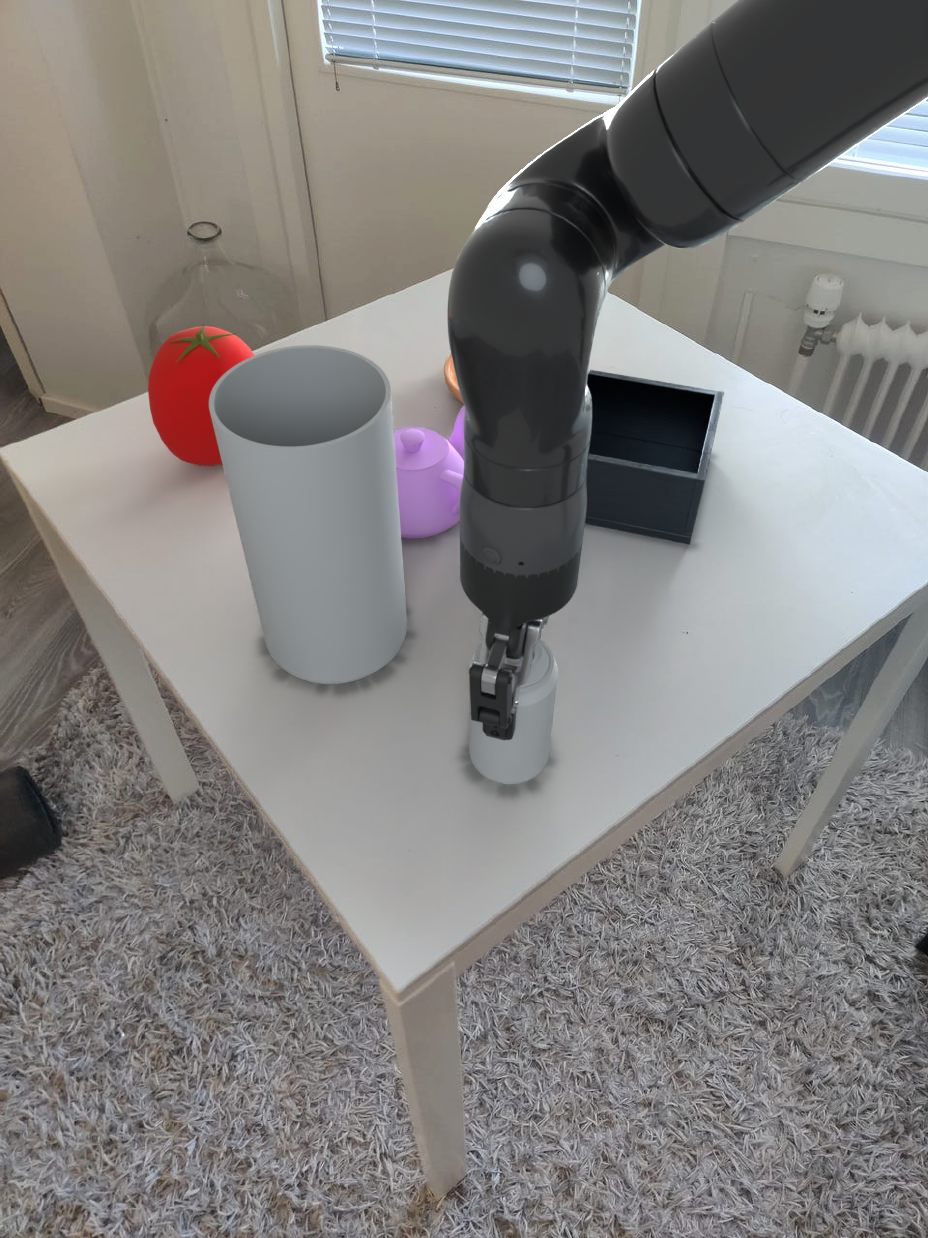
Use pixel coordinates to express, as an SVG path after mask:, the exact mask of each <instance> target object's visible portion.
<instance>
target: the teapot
mask: <svg viewBox="0 0 928 1238" xmlns="http://www.w3.org/2000/svg"><path fill="white" fill-rule="evenodd" d="M464 415H465V406H464V405H463V406H462V407H461V408H460V409H459V412H458V414H457V416H456V420H455V423H454V426H453V427H454V428H453V430H452V433H451V435H450V437H449V438H448V439H446V438H445V437H444V436H443V435H442V434H440V433H439V432H436V431H434V430H432V429H429V428H426V427H425V428H424V427H417V426H416V427H415V426H411V427H403V428H400V429H399V428H398V429H396V430H394V444H395V459H396V473H397V487H398V501H399V515H400V529H401V538H404V539H405V538H406V539H424V538H429V537H434V536H436V535H439V534H441V533H443V532H445V531H447V530H449V529H450V528H452V527H454V526H455V525H456V524H458V523H459V522H460V492H461V485H462V480H463V474H464Z"/></svg>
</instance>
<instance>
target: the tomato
mask: <svg viewBox="0 0 928 1238" xmlns="http://www.w3.org/2000/svg"><path fill="white" fill-rule="evenodd" d="M255 355H256V354H255V353H254V352H253V351H252V349H251V348H250V346H248V344H247V343H245V341H244V340H242V339H241V338H240V337H239V336H237V334H236V333H231V332H229V331H227V330H225V329H222V328H218V327H215V326H210V325H209V326H207V325H205V324H203V325H202V326H194V327H190V328H186V329H183V330H179V331H176V332H175V333H173V334H172V335H170V336H169V337H168V338H167V339H166V340H165V341H164V342H163V343H162V344H161V345H160V346H159V348H158V350H157V351H156V354H155V356H154V358H153V361H152V364H151V366H150V370H149V374H148V384H147V394H148V402H149V410H150V411H149V412H150V415H151V419H152V423H153V425H154V427H155V429H156V431H157V433H158V435H159V437H160V439H161V442H163V444H164V445H165V446H166V448H167V449H168V451H169V452H170V453H171V454H172V455H173V456H175V457H177V459H179V460H180V461H181V462H185V463H187V464H191V465H196V466H217V465H223V464H222V460H221V456H220V452H219V447H218V443H217V439H216V435H215V431H214V427H213V423H212V418H211V414H210V410H209V398H210V394H211V391H212V389H213V387H214V385H215V384H216V382H217V381H218V380H219V379H220V378H221V377H222V376H223V375H224V374H225V373H226V372H227V371H228V370H230V369H231V368H232V367H234V366H235V365H237V364H238V363H240V362H242V361H244V360H246V359H248V358H250V357H253V356H255Z"/></svg>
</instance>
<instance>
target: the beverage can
mask: <svg viewBox="0 0 928 1238" xmlns="http://www.w3.org/2000/svg"><path fill="white" fill-rule="evenodd" d="M480 646H481V642H480V643H479V644H478V645H477V647H476V649H475V651H474V654H473V655H472V657H471V659H470V661H469V665H468V670H469V669H470V667H472V664H473V662H478V658H479V652H480ZM522 659H523V657H521V658H519V659H516V660H515V659H510V658H506V660H505V664H509V665H513V666H521V665H522ZM469 677H470V674H469V673H468V678H469ZM558 678H559V668H558V664H557V662H556V660H555V658H554V654H553V651H552V649H551V648H550V646H549V645H548V644H547V643H546V642H545V641H544V640H543V639H542V637H541V638H540V639H539V641H538V643H537V644H536V646H535V649H534V655H533V660H532V666H531V672H530V675H529V677H528V679H527V681H526V682H525V684H523V685H520V691H519V697H518V702H519V705H518V709H516V723H515V732H514V735H513V738H512V739H511V740H505V741H504V740H500V739H496V738H493V737H489V736H486V734H485V733H484V732H483V723H481V722H477V721H473V720H471V702H470V680H469V679H468V755H469V758H470V761H471V763H472V765H473V767H474V768H475V770H476V771H477V772H478V773H479V774H481V775H482V776H483V777H485V778H486V779H488V780H489V781H492V782H495V783H498V784H503V785H516V784H522V783H526V782H528V781H530V780H532V779H534V778H536V777H537V776H538V775H539V774H540V773H542V771H543V770H544V768H545V767H546V765H547V763H548V761H549V758H550V751H551V743H552V742H551V741H552V733H553V725H554V715H555V707H556V706H555V705H556V696H557V687H558Z"/></svg>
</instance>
